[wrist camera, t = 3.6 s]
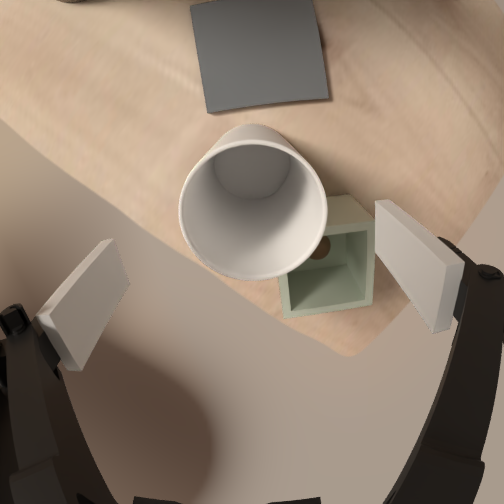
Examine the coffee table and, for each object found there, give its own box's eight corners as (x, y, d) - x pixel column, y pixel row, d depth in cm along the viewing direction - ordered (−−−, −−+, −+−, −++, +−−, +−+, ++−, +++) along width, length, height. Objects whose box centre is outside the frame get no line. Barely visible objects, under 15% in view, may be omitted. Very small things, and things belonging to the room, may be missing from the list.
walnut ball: (299, 229, 34) (303, 240, 31) (326, 225, 33) (333, 236, 31) (301, 253, 35) (305, 266, 32) (327, 250, 35) (333, 262, 32)
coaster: (190, 7, 23) (189, 6, 23) (309, -7, 23) (310, -9, 22) (208, 113, 29) (207, 113, 28) (327, 98, 28) (328, 98, 27)
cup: (291, 122, 29) (330, 138, 15) (292, 199, 33) (324, 278, 19) (209, 126, 29) (169, 146, 15) (215, 202, 33) (188, 283, 19)
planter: (267, 204, 33) (272, 233, 26) (349, 194, 33) (375, 220, 25) (277, 276, 37) (283, 318, 30) (351, 266, 36) (372, 304, 29)
